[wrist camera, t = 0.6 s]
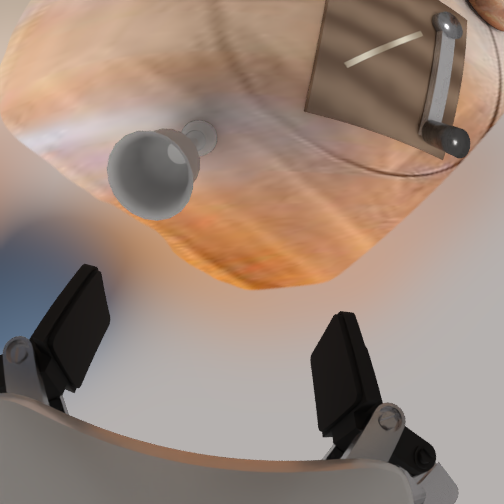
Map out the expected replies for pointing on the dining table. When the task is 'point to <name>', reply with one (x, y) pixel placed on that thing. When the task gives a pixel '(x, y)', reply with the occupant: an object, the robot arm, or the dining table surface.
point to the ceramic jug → (490, 11)
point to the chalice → (159, 168)
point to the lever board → (381, 66)
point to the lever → (443, 91)
